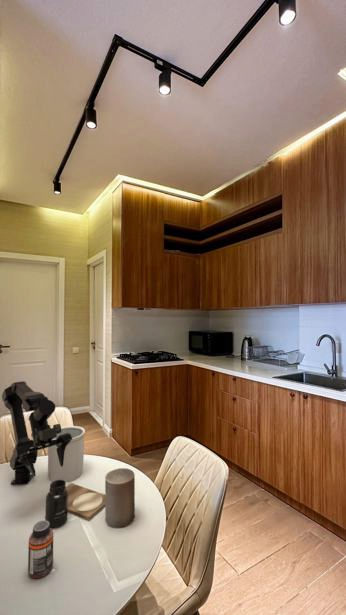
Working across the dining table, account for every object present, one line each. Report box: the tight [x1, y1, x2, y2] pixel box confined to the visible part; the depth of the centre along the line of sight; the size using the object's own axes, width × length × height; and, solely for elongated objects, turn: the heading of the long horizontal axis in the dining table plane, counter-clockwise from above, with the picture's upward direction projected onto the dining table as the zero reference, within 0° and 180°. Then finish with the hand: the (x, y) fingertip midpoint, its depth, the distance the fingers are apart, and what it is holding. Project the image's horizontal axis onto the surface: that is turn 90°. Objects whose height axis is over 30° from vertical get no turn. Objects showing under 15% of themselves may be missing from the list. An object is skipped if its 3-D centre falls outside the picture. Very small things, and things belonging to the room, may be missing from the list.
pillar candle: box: [104, 467, 136, 529], centre depth 96 cm, size 10×10×15 cm
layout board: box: [66, 482, 105, 522], centre depth 104 cm, size 20×12×1 cm, turn 64°
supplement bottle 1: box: [27, 519, 54, 579], centre depth 76 cm, size 6×6×11 cm
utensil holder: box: [47, 425, 86, 483], centre depth 122 cm, size 15×15×18 cm
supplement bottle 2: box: [44, 480, 69, 529], centre depth 94 cm, size 7×7×12 cm
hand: (48, 471), depth 99 cm, fingers open, 9 cm apart
